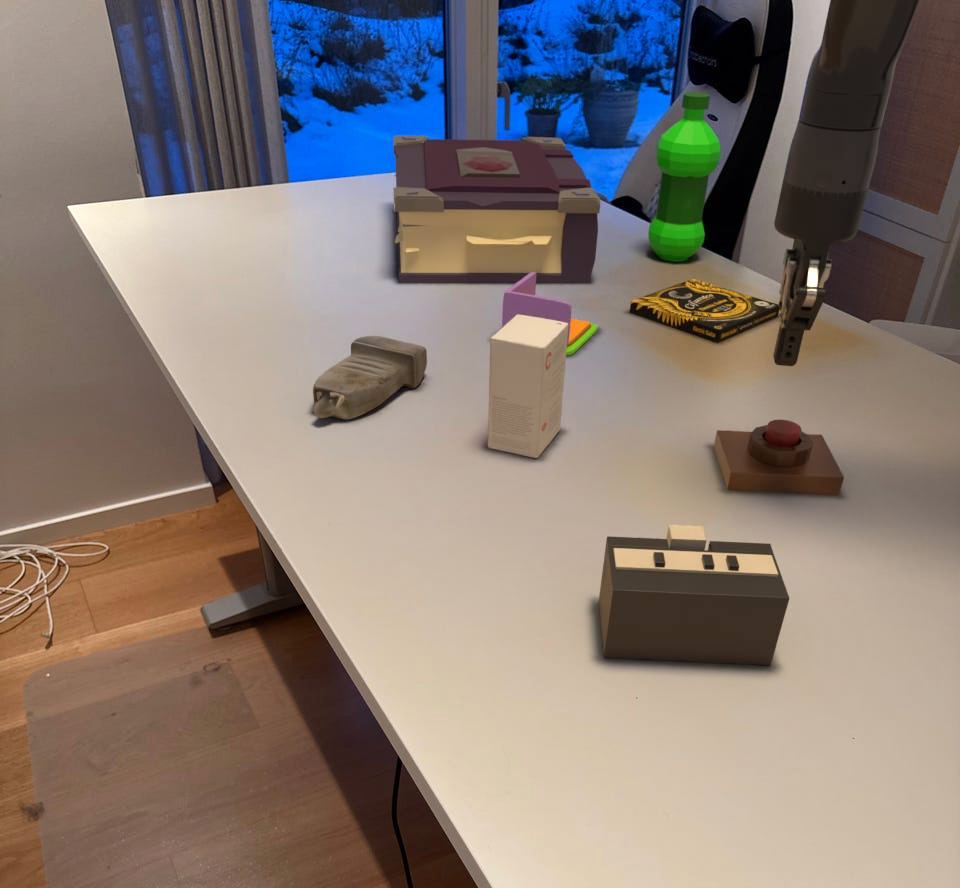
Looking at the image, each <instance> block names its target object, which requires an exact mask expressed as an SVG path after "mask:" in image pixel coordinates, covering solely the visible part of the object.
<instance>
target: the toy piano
mask: <svg viewBox="0 0 960 888" xmlns="http://www.w3.org/2000/svg"><path fill="white" fill-rule="evenodd" d="M708 542H709V543H708V547H707V550H706V549H705V550H686V549H669V545H668V540H667V539H666V538H651V537H633V536H632V537H628V536H611V535H610V536H608V535H607V536H606V540H605V548H604V557H603V565H602V571H601V579H600V587H599V596H598V610H599V621H600V631H601V641H602V653H603V658H608V659H629V660H650V661H669V662H670V661H672V662H692V663H693V662H694V663H696V662H697V663H710V664H711V663H712V664H713V663H715V664H735V665H757V666H771V665H772V662H773V658H774V655H775V652H776V648H777V644H778V641H779V637H780V634H781V630H782V627H783V624H784V619H785V617H786V616H785V615H786V612H787V609H788V605H789V603H790V596H789V593H788V589H787V587H786V584H785V581H784V579H783V576H782V574H781V570H780V568H779V565H778V563H777V559H776V556H775V553H774V551H773V548H772V545H771V543H765V542H764V543H763V542H741V541H719V540H717V541H716V540H710V541H708Z"/></svg>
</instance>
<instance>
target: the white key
mask: <svg viewBox="0 0 960 888" xmlns="http://www.w3.org/2000/svg"><path fill="white" fill-rule="evenodd" d="M665 539H667V540H668V545H669V549H686V550H706V545H707V537H706V533H705V529H704V526H703V525H684V524H668V528H667V532H666V538H665Z"/></svg>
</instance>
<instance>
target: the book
mask: <svg viewBox="0 0 960 888" xmlns="http://www.w3.org/2000/svg"><path fill="white" fill-rule="evenodd" d="M393 156H394V157H395V174H394V177H395V185H396V186H394V187H393V212H394V213H396V222H397V223H396V224H397V225H396V227H397V234H396V236H395V240H394V243H395V244H397V257H398V258H397V265H398V266H397V267H398V268H397V269H398V284H515V283H517V282H518V281H520V280H521V279H522V278H524V277H525V276H527V275H528V274H529V273H531V272H535V273H536V284H591V278H592V272H593V269H594V265H595V262H596V254H597V244H598V233H599V220H598V219H599V218H598V214H600V211H601V198H600V196H599V195H598V194H597V192H596V191H595V189H594V187H592V184H591V180H590V179H589V178H587V176H586V175H585V172H584V170H583V168H582V167H581V165H579V163H578V162H577V160H576V159H575V158H574V154H573V153H572V152H571V150H569V149H567V145H566V144H565V142H564V140H563V139H562V138H560V137H548V136H547V137H546V136H525V137H521V139H520V140H519V139H453V138H452V139H450V138H447V139H446V138H442V139H441V138H439V139H438V138H429V136H426V135H395V136H394V137H393Z"/></svg>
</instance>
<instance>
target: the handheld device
mask: <svg viewBox="0 0 960 888" xmlns="http://www.w3.org/2000/svg"><path fill="white" fill-rule="evenodd" d="M427 351H428V350H427V348H426V347H425V346H424V345H420V344H416V343H411V342H406V341H402V340H398V339H394V338H389V337H386V336H380V335H367V336H366V335H365V336H362V337H357V338H356V339H354V340H353V341H352V342H351V344H350V355H348V356H346V357H345V358H343V359H342V360H340V361H339V362H337V363H335V364H333V365H332V366H330V367H329V368H328V369H326V370H324V372H323V373H322V374H320V375H319V376H318V377H317V379H316V380H315V382H314V384H313V387H312V395H313V396H312V397H313V403H314V404H313V405H314V406H313V408H312V411H313V415H315V417H317V418H321V419H326V418H329V417H332V418H336V419H341V420H345V421H346V420H351V419H355V418H357V417H360V416H363V415H364V414H367V413H368V412H370V411H372V410H374V409H375V408H377V407H378V406H380V405H381V404H383V403H384V402H385V401H386V400H387V399H389V398H390V397H391V396H392V395H393V394H394V393H396V392H397V391H398V390H399V389H400V388H401V387H404V388H405V387H406V388H408V389H409V388H410V389H415V388H417V387H418V386H419V385H420V383H421V382H422V380H423V378H424V375H425V372H426V369H427V366H428V352H427Z"/></svg>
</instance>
